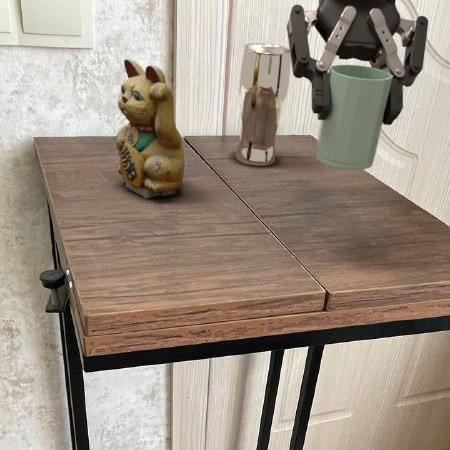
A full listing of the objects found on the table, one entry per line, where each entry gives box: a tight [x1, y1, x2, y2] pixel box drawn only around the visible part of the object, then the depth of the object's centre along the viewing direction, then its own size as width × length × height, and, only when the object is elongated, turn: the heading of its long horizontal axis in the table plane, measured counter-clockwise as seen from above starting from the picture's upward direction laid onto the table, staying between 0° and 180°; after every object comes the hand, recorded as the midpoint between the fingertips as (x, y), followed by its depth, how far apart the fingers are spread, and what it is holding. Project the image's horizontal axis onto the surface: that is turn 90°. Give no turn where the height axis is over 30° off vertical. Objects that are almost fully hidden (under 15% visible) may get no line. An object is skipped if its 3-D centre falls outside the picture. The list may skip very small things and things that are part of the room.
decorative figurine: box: [115, 58, 185, 199], centre depth 78 cm, size 10×8×15 cm
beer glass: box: [234, 42, 292, 167], centre depth 90 cm, size 7×7×15 cm
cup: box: [315, 64, 393, 171], centre depth 63 cm, size 6×6×8 cm
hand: (357, 117), depth 61 cm, fingers closed on cup, 6 cm apart
